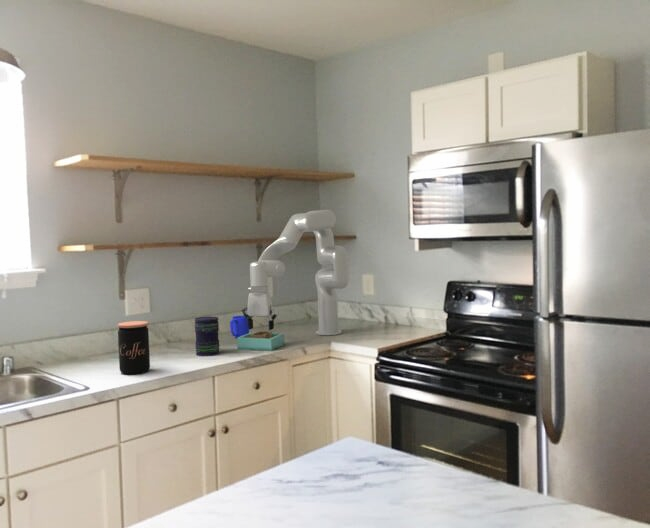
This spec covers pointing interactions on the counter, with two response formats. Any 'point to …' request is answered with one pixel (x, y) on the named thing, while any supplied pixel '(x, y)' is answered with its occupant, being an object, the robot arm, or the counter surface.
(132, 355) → the coffee jar
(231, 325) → the mug
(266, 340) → the teal crate
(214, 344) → the storage jar
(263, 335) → the walnut crate
